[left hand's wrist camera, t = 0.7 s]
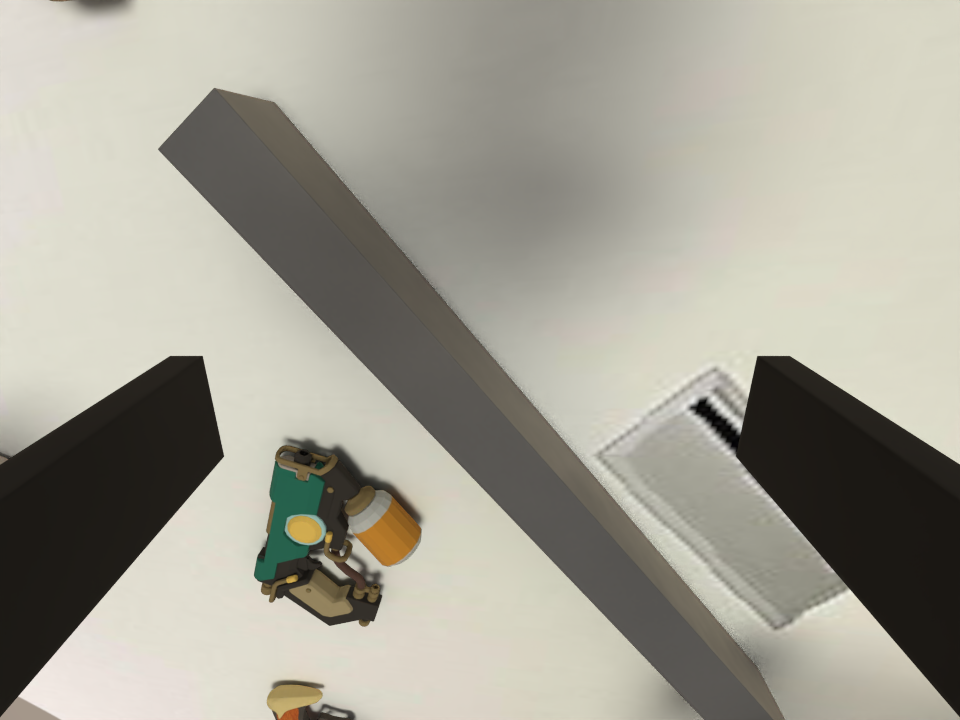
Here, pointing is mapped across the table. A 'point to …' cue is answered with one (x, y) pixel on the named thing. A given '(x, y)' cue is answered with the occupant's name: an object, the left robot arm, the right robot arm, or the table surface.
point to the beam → (454, 389)
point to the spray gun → (328, 536)
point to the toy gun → (295, 702)
